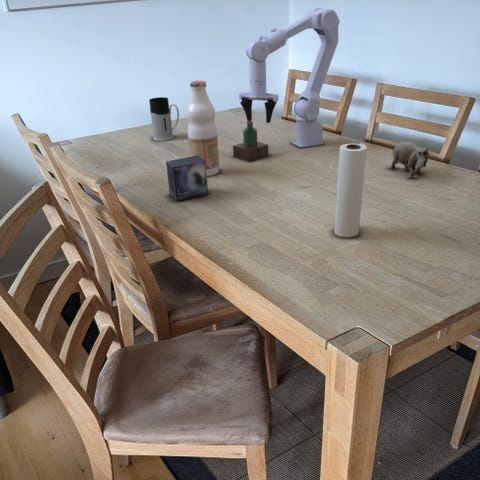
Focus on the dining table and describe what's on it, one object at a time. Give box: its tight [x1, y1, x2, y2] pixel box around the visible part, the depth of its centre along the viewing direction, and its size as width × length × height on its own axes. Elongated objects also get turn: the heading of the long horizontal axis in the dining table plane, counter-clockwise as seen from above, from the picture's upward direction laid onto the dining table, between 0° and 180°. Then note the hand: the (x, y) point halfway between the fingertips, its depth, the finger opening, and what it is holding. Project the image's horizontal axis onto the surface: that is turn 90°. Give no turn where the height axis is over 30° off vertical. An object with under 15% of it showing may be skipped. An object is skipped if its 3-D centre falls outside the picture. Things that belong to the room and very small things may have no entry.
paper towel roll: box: [333, 142, 368, 238], centre depth 120 cm, size 7×6×21 cm
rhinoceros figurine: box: [389, 140, 432, 180], centre depth 157 cm, size 8×14×15 cm
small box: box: [165, 155, 209, 202], centre depth 150 cm, size 11×6×10 cm, turn 118°
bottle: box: [242, 120, 259, 147], centre depth 178 cm, size 5×5×8 cm
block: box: [232, 141, 269, 163], centre depth 181 cm, size 9×9×4 cm
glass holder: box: [148, 96, 180, 142], centre depth 203 cm, size 9×14×15 cm, turn 54°
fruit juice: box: [185, 80, 220, 177], centre depth 162 cm, size 9×9×28 cm
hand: (259, 121), depth 181 cm, fingers open, 7 cm apart
